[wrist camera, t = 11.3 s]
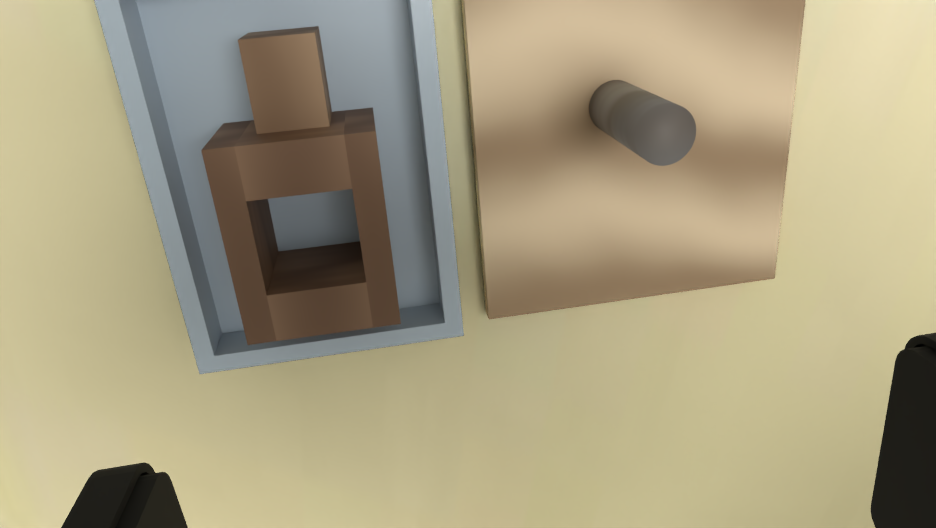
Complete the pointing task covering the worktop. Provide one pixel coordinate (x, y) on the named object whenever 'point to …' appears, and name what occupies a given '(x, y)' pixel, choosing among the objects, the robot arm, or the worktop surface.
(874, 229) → the worktop surface
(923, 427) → the robot arm
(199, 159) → the tray
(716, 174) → the stake board
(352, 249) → the collar
